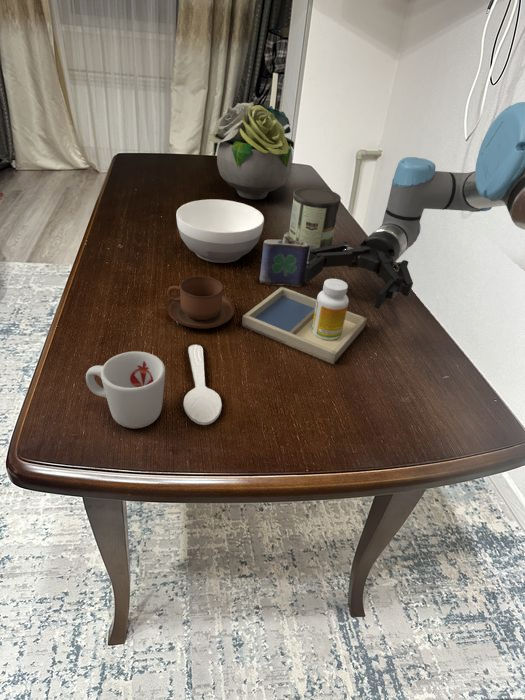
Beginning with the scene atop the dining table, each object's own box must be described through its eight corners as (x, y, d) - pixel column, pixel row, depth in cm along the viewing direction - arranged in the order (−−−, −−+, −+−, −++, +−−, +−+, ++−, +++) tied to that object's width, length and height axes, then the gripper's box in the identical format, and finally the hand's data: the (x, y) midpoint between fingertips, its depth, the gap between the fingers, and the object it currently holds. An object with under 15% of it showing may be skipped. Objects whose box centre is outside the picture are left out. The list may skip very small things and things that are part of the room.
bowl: (245, 233, 121) (248, 198, 115) (272, 268, 107) (277, 230, 102) (168, 237, 114) (168, 200, 109) (187, 275, 100) (187, 234, 95)
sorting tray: (364, 327, 91) (366, 318, 89) (333, 364, 80) (335, 354, 79) (280, 295, 97) (281, 286, 96) (241, 326, 87) (242, 316, 86)
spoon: (211, 346, 81) (211, 343, 81) (224, 423, 67) (224, 420, 67) (178, 347, 80) (178, 344, 80) (185, 426, 66) (185, 423, 66)
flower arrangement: (196, 184, 147) (197, 93, 132) (269, 179, 157) (277, 94, 143) (231, 214, 130) (237, 114, 115) (310, 206, 140) (324, 113, 126)
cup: (75, 422, 65) (67, 376, 60) (105, 385, 71) (99, 341, 66) (152, 442, 63) (149, 395, 59) (175, 402, 70) (174, 358, 65)
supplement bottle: (347, 337, 86) (358, 288, 81) (322, 343, 84) (332, 294, 78) (329, 321, 90) (339, 274, 84) (305, 327, 88) (313, 279, 82)
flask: (259, 284, 100) (264, 234, 94) (259, 277, 103) (264, 228, 96) (304, 287, 101) (312, 238, 95) (302, 280, 103) (310, 232, 97)
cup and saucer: (168, 336, 82) (167, 304, 79) (165, 299, 92) (165, 270, 88) (239, 333, 85) (241, 303, 81) (229, 298, 94) (231, 269, 91)
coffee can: (319, 244, 119) (329, 186, 111) (336, 263, 111) (348, 202, 103) (279, 245, 116) (287, 186, 108) (294, 265, 109) (303, 203, 100)
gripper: (437, 284, 97) (404, 331, 82) (324, 247, 107) (276, 283, 91) (449, 249, 93) (417, 292, 78) (330, 214, 102) (281, 246, 87)
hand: (341, 287), depth 84 cm, fingers open, 13 cm apart
